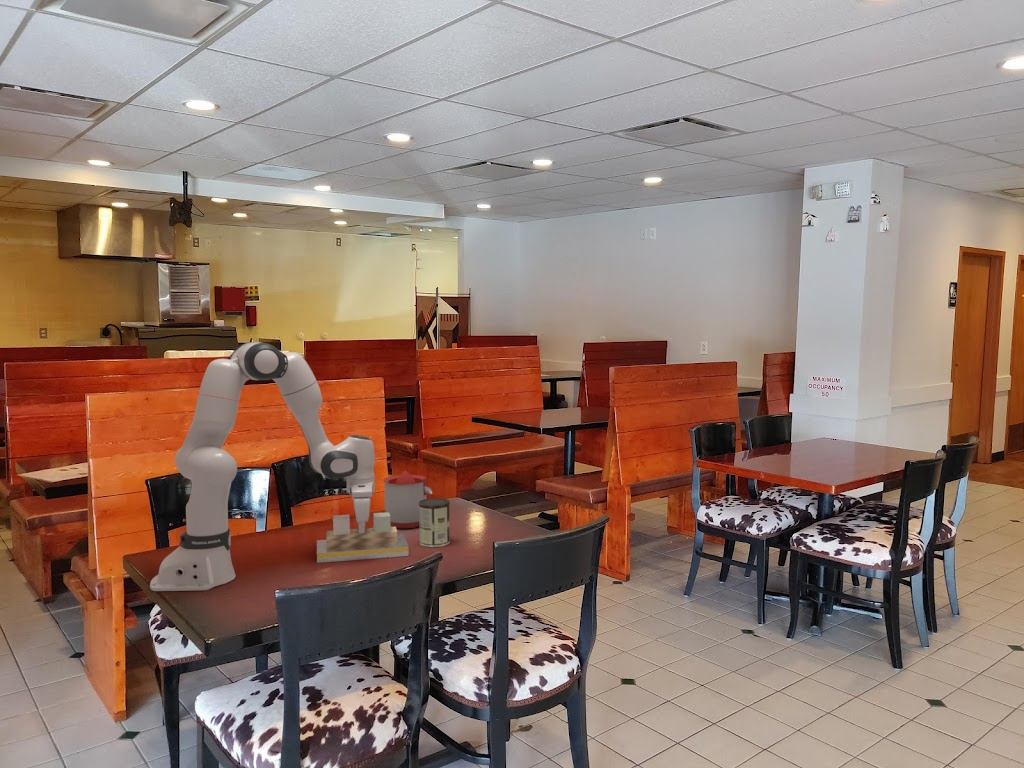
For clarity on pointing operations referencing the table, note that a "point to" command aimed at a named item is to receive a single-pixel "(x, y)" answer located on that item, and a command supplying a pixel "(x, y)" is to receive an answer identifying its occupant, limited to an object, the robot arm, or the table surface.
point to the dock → (361, 551)
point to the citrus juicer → (405, 498)
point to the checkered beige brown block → (361, 538)
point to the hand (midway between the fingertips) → (360, 528)
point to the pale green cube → (381, 522)
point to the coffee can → (434, 522)
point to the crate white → (341, 524)
